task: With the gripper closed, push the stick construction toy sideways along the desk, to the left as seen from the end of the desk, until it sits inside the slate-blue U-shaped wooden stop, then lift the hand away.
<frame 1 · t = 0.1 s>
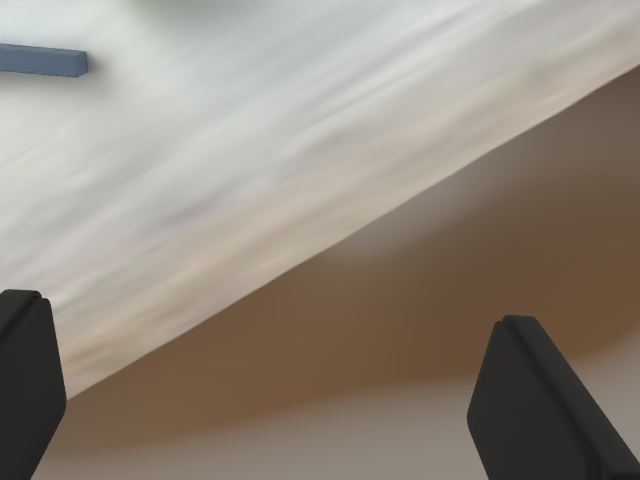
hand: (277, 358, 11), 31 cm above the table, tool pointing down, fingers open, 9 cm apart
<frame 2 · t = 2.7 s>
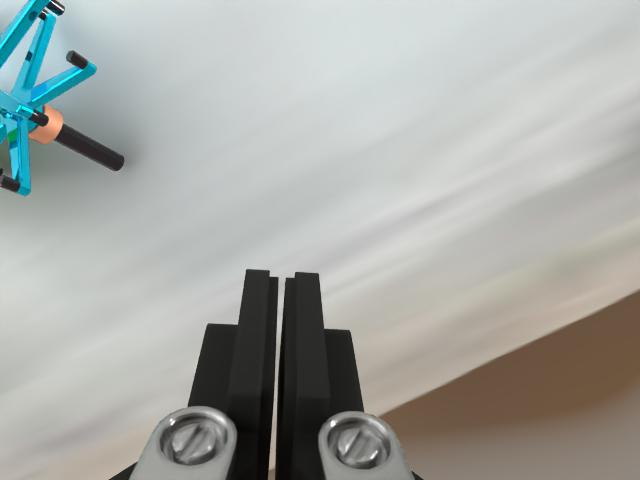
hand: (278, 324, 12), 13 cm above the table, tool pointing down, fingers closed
stick construction toy: (27, 121, 22), on the table
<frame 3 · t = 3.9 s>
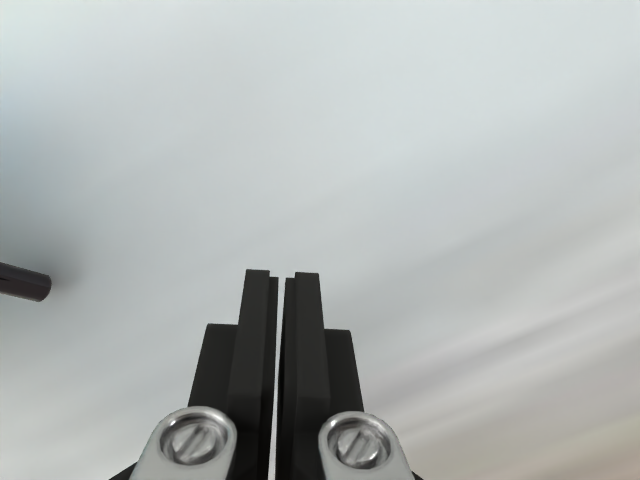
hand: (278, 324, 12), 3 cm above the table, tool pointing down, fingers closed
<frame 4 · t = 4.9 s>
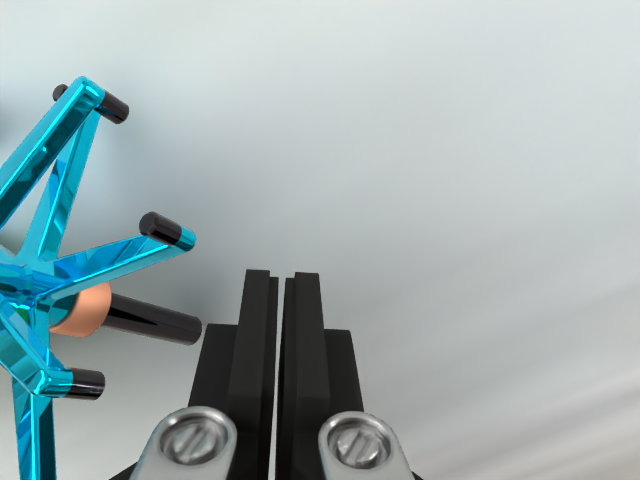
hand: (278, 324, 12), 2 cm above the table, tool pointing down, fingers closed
stick construction toy: (43, 265, 13), on the table, touching gripper
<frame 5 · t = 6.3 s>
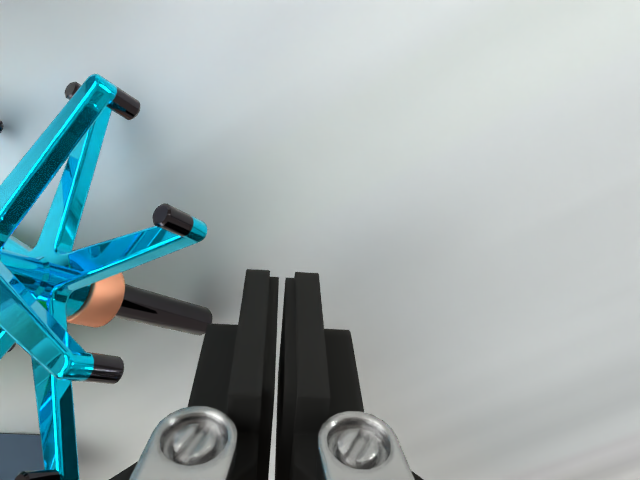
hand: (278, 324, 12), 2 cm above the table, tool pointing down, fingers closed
stick construction toy: (57, 259, 14), on the table, touching gripper
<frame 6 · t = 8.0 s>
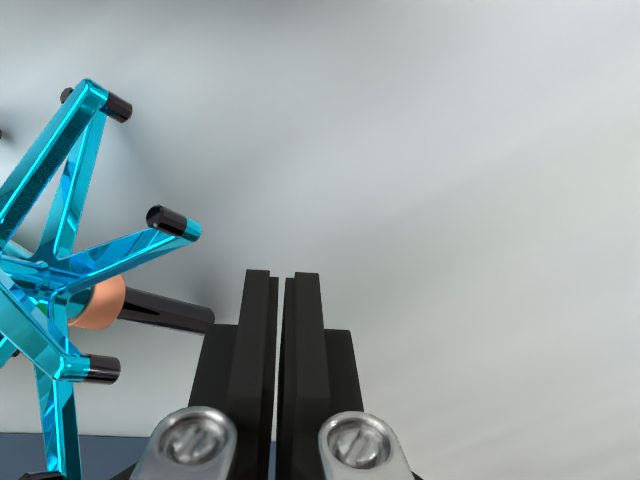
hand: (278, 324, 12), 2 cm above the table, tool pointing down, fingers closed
stick construction toy: (60, 264, 14), on the table, touching gripper
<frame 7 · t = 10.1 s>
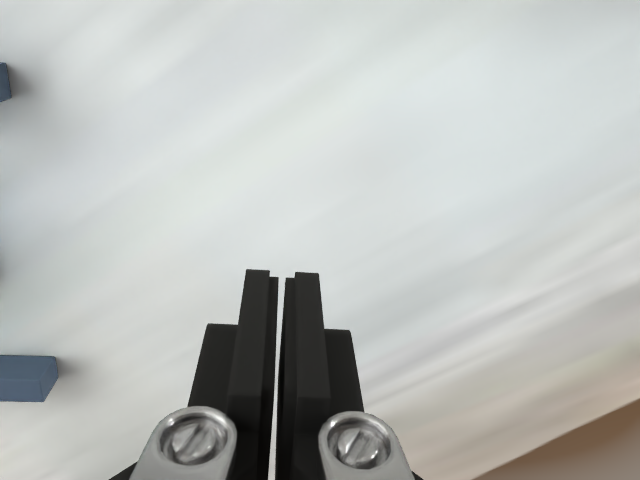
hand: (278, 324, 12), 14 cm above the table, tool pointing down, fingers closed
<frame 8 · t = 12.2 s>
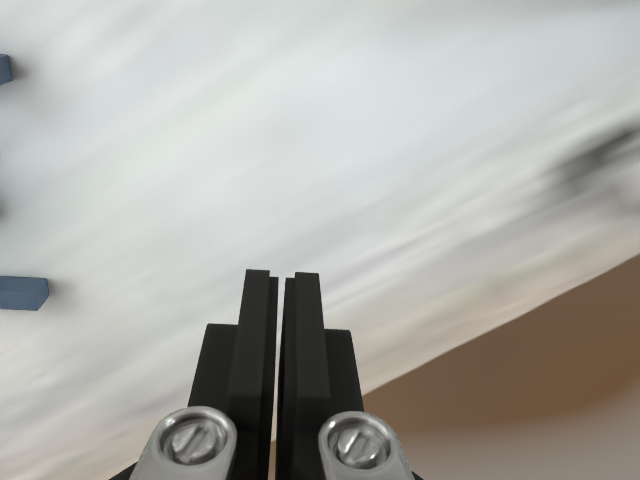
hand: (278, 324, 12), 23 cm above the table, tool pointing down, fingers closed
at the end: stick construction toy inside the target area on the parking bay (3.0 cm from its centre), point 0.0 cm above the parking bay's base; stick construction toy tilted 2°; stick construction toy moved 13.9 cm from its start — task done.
